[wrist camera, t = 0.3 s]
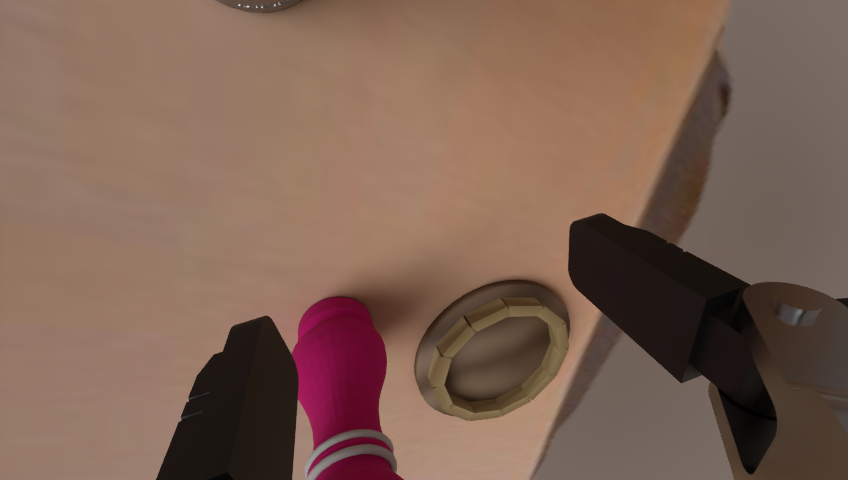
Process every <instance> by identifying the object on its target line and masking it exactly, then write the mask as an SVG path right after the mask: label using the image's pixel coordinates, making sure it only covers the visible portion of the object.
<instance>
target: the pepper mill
mask: <svg viewBox="0 0 848 480" xmlns="http://www.w3.org/2000/svg"><path fill="white" fill-rule="evenodd" d="M292 357H293V359H294V361H295V364H296V367H297V371H298V378H299V388H298V400H299V401H300V403H301V405H302V406H303V408H304V410H305V412H306V414H307V416H308V418H309V421H310V424H311V427H312V430H313V441H314V448H313V452H312V453H311V455H310V456H309V458H308V460H307V462H306V465H305V477H306V480H403V479H402V478H401V477H400V476H399V475H397V474H396V471H397V461H396V459H395V457H394V455H393V452H394V450H393V445H392V442H391V441H390V439H389V438H388V437H387V436H386V435H384V434H383V433H382V430H381V427H380V419H379V398H380V394H381V390H382V386H383V383H384V380H385V375H386V367H387V357H386V351H385V345H384V342H383V340H382V338H381V336H380V334H379V333H378V332H377V331H376V330H375V329H374V327H373V324H372V320H371V316H370V313H369V311H368V310H367V309H366V307H365V306H364V305H363V304H361V303H360V302H358V301H356V300H353V299H350V298H345V297H334V298H328V299H325V300H322V301H320V302H318V303H316V304H314V305H313V306H311V307H310V308H309V309H308V310H307V311H306V312H305V314H304V315H303V316H302V318H301V321H300V323H299V329H298V343H297V344H296V345H295V348H294V350H293V352H292Z"/></svg>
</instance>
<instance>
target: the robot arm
mask: <svg viewBox="0 0 848 480" xmlns="http://www.w3.org/2000/svg"><path fill="white" fill-rule="evenodd" d="M217 1H219V2H221V3H223V4H225V5H227V6H229V7H232V8H236V9H240V10H244V11H247V12H261V13H269V12H274V11H279V10H284V9H286V8H288V7H290V6H292V5H294V4H296V3H298V2H300V1H301V0H217ZM568 271H569V276H570V279H571V281H572V283H573V285H574V286H575V287H576V289H577V290H578V291H579V292H580V293H582V294H583V295H584V296H585V297H586V298H587V299H588V300H589V301H590V302H592V303H593V304H594V305H595V306H596V307H597V308H598V309H599V310H600V311H602V312H603V313H604V314H605V315H606V316H607V317H608V318H609V319H610V320H612V321H613V322H614V323H615V324H616V325H617V326H618V327H619V328H620V329H622V330H623V331H624V332H625V333H626V334H627V335H628V336H629V337H630V338H632V339H633V340H634V341H635V342H636V343H637V344H638V345H639V346H641V347H642V348H643V349H644V350H645V351H646V352H647V353H648V354H649V355H650V356H652V357H653V358H654V359H655V360H656V361H657V362H658V363H659V364H661V365H662V366H663V367H664V368H665V369H666V370H667V371H668V372H669V373H670V374H672V375H673V376H674V377H675V378H676V379H677V380H678V381H679V382H680V383H683V382H686V381H688V380H691V379H693V378H696V377H698V376H701V375H703V376H704V377H706V378H707V379H708V380H710V381H711V382H710V384H709V389H708V391H709V397H710V400H711V403H712V407H713V410H714V413H715V416H716V420H717V423H718V426H719V430H720V433H721V437H722V440H723V443H724V447H725V450H726V453H727V457H728V460H729V463H730V466H731V470H732V473H733V477H734V480H848V298H842V299H834V298H832V297H830V296H828V295H826V294H824V293H822V292H819V291H817V290H814V289H810V288H808V287H804V286H800V285H796V284H790V283H783V282H761V283H756V284H753V285H750V284H748V283H746V282H744V281H742V280H740V279H738V278H736V277H734V276H733V275H731V274H729V273H727V272H725V271H723V270H721V269H719V268H717V267H715V266H713V265H712V264H710V263H708V262H706V261H704V260H702V259H700V258H698V257H696V256H695V255H693V254H691V253H689V252H683V249H681V248H679V247H677V246H676V245H674V244H672V243H669V244H668V243H667V241H666V240H664V239H662V238H660V237H658V236H656V235H655V234H653V233H651V232H649V231H646V230H642V229H639V228H635V227H631V226H628V225H624V224H623V223H621V222H619V221H617V220H615V219H613V218H612V217H610V216H608V215H606V214H603V213H599V214H596V215H593V216H590V217H586V218H583V219H580V220H577V221H574V222H573V223H572V224H571V226H570V232H569V261H568ZM298 388H299V378H298V371H297V367H296V364H295V361H294V359H293V357H292V355H291V353H290V351H289V349H288V347H287V346H286V344H285V342H284V340H283V338H282V337H281V335H280V333H279V331H278V329H277V327H276V326H275V324H274V322H273V320H272V319H271V318H270V317H269V316H263V317H260V318H257V319H253V320H250V321H247V322H244V323H240V324H237V325H234V326H233V327H232V328H231V330H230V332H229V335H228V338H227V341H226V344H225V347H224V350H223V352H221V353H217V354H214V355H213V356H212V358H211V359H210V360H209V361H208V363H207V364H206V365H205V366H204V368H203V369H202V370H201V371H200V373H199V374H198V375H197V377H196V380H195V382H194V385H193V387H192V390H191V392H190V395H189V397H188V398H189V402H187V403H186V405H185V408H184V410H183V413H182V415H181V419H182V420H181V422H179V423H178V425H177V428H176V430H175V433H174V435H173V438H172V441H171V443H170V446H169V448H168V451H167V453H166V456H165V458H164V461H163V463H162V466H161V468H160V471H159V474H158V476H157V479H156V480H292V472H293V458H294V444H295V430H296V416H297V402H298Z"/></svg>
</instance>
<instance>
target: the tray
mask: <svg viewBox="0 0 848 480" xmlns="http://www.w3.org/2000/svg"><path fill="white" fill-rule="evenodd" d="M569 332H570V322H569V317H568V313H567V311H566V308H565V306H564V305H563V303H562V302H561V301H560V300H559V299H558V298H557V297H556V296H555V295H554V294H553V293H552V292H551V291H550V290H548V289H547V288H545V287H544V286H541V285H539V284H537V283H534V282H530V281H523V280H507V281H501V282H495V283H492V284H488V285H485V286H483V287H480V288H478V289H475V290H473V291H471V292H469V293H468V294H466V295H464V296H462V297H461V298H459V299H458V300H456V301H455V302H453V303H452V304H451V305H450V306H449V307H447V308H446V309H445V310H444V311H443V312H442V313H441V314H440V315H439V316H438V317H437V318H436V319H435V320H434V322H433V323H432V324H431V325H430V327H429V328H428V330H427V331H426V333H425V334H424V336H423V338H422V340H421V342H420V344H419V347H418V350H417V353H416V358H415V364H414V368H415V378H416V382H417V384H418V387H419V390H420V392H421V395H422V396H423V398H424V399H425V401H426V402H427V403H428V404H429V405H430V406H431V407H433V408H434V409H435V410H437V411H439V412H441V413H443V414H447V415H450V416H456V417H459V418H461V419H464V420H467V421H469V420H470V421H475V420H482V419H490V418H497V417H500V415H501V416H504V415H505V414H507V413H509V412H511V411H513V410H515V409H517V408H519V407H521V406H523V405H525V404H527V403H529V402H531V400H530V399H532V400H533V399H534V398H535V397H536V396H537V395H538V394H539V393H540V392H541V391H542V390H543V389H544V388H545V387H546V386H547V385H548V384H549V383H550V382H551V381H552V380H553V379H554V378H555V376H556V375H557V374H558V372H559V369H560V367H561V365H562V363H563V361H564V358H565V356H566V354H567V352H568V348H569V344H568V338H569Z"/></svg>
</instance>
